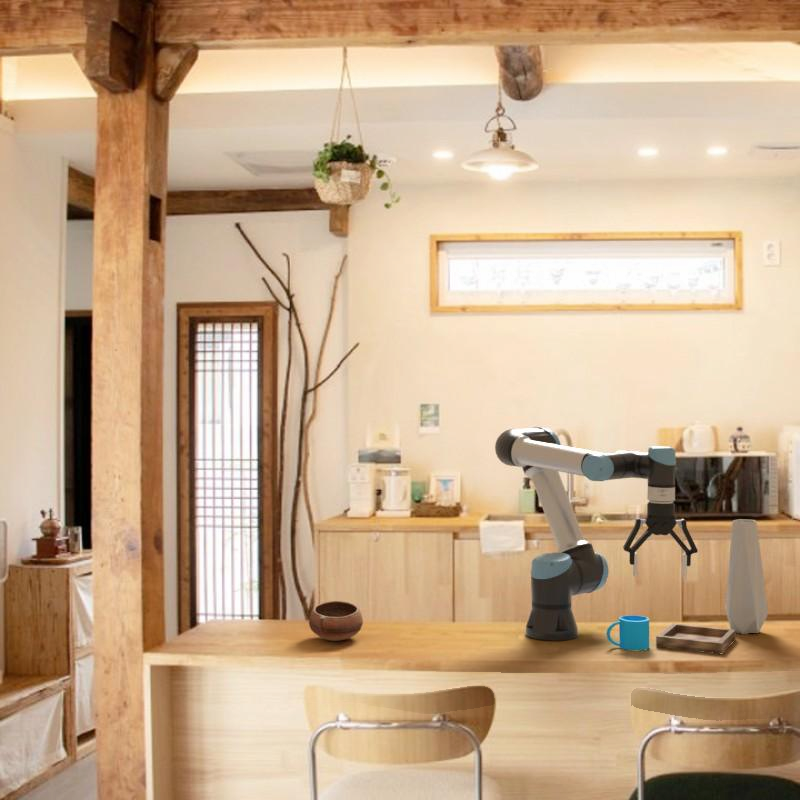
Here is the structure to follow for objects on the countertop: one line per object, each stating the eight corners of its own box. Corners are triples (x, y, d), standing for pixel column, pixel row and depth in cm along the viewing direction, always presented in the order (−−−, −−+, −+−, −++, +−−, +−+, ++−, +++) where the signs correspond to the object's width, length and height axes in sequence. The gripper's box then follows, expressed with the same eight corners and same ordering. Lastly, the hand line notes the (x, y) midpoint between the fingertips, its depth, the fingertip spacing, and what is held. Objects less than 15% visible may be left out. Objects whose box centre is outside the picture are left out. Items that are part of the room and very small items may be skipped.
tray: (656, 646, 297) (656, 636, 297) (672, 633, 313) (672, 623, 313) (722, 654, 288) (722, 643, 288) (735, 640, 304) (735, 629, 304)
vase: (771, 637, 307) (771, 523, 307) (730, 636, 309) (729, 523, 309) (764, 627, 319) (763, 518, 319) (724, 626, 321) (723, 517, 321)
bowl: (312, 647, 300) (312, 612, 300) (306, 634, 315) (305, 600, 315) (367, 644, 303) (367, 609, 303) (358, 631, 318) (357, 598, 318)
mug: (644, 643, 301) (644, 614, 301) (653, 650, 293) (653, 621, 293) (602, 644, 301) (602, 615, 300) (610, 651, 292) (610, 622, 292)
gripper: (617, 502, 295) (616, 578, 296) (709, 504, 293) (707, 580, 293) (614, 498, 302) (613, 572, 303) (704, 500, 300) (702, 575, 301)
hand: (659, 577), depth 298 cm, fingers open, 13 cm apart
